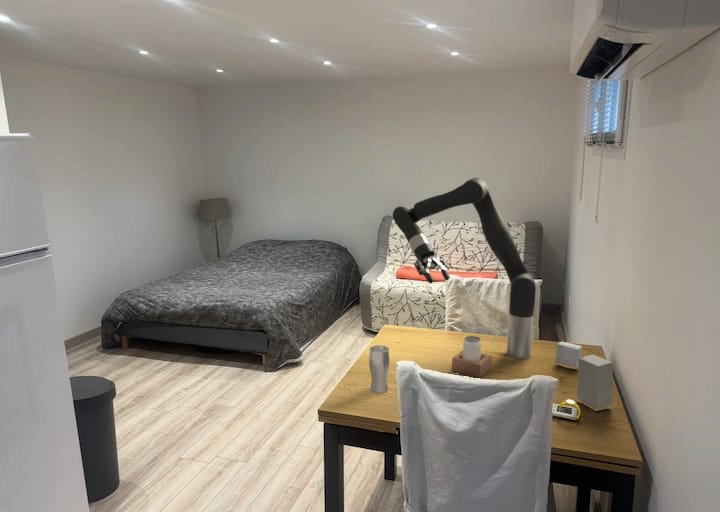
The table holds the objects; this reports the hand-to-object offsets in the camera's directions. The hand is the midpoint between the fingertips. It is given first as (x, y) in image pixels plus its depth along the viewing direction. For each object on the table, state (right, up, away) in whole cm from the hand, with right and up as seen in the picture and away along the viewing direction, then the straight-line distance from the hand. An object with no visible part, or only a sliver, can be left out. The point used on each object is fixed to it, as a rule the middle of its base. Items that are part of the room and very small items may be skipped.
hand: (440, 280), depth 196 cm
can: (+10, -33, -10) cm, 35 cm away
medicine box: (+48, -33, -5) cm, 58 cm away
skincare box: (+44, -39, -35) cm, 68 cm away
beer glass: (-25, -36, -24) cm, 50 cm away
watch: (+33, -40, -43) cm, 67 cm away
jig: (+10, -33, -10) cm, 36 cm away
